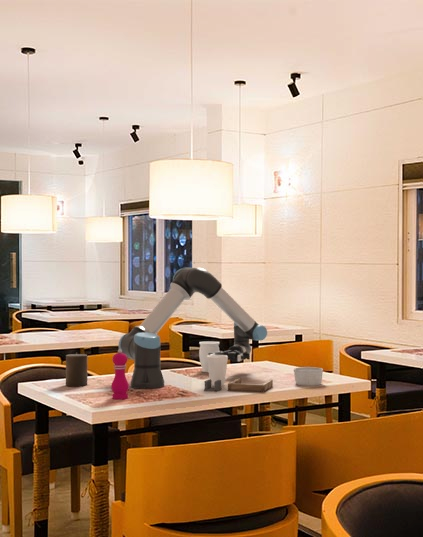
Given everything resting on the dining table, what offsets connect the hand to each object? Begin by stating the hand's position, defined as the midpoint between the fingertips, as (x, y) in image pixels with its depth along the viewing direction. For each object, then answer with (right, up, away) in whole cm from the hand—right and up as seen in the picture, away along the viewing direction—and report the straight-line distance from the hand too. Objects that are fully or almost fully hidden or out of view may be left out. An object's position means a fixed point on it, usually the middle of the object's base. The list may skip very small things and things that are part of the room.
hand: (224, 358), depth 350 cm
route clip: (-5, -11, -23) cm, 26 cm away
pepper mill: (-43, -11, -43) cm, 62 cm away
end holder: (+11, -11, -21) cm, 26 cm away
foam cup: (-3, -11, -9) cm, 15 cm away
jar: (-7, -11, +35) cm, 37 cm away
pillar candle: (-67, -11, -8) cm, 68 cm away
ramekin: (+38, -11, -8) cm, 40 cm away
